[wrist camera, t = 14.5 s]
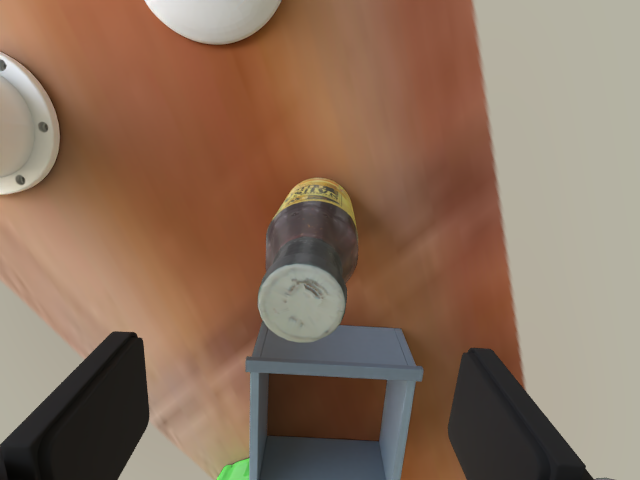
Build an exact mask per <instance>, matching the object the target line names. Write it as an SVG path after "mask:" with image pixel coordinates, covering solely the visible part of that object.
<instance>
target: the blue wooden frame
mask: <svg viewBox="0 0 640 480" xmlns="http://www.w3.org/2000/svg"><path fill="white" fill-rule="evenodd" d="M423 371H424V370H423V367H422V366H416V364H415V362H414V359H413V357H412V354H411V352H410V349H409V347H408V344H407V342H406V339H405V337H404V334H403V332H402V329H399V328H382V327H364V326H347V325H339V326H338V327H337V328H336V330H334V331H333V332H332V333H331V334H330V335H328V336H325V337H323V338H321V339H319V340H317V341H314V342H308V343H299V342H293V341H288V340H286V339H285V338H282V337H280V336H278V335H276V334H275V333H274V332H272V331H271V330H270V329H269V328H268V327H267V326H266V325H265V323H264V321H262V325H261V328H260V331H259V334H258V337H257V341H256V344H255V347H254V350H253V354H252V357H249V356H247V358H246V372H250V456H249V480H400V478H401V472H402V466H403V460H404V453H405V447H406V441H407V434H408V428H409V422H410V415H411V409H412V403H413V396H414V390H415V384H416V381H420V382H421V381H422V377H423ZM269 373H274V374H292V375H311V376H329V377H347V378H366V379H384V380H387V385H386V392H385V400H384V408H383V415H382V423H381V430H380V438H379V441H364V440H345V439H325V438H306V437H287V436H267V422H268V383H269Z"/></svg>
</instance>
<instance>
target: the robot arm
mask: <svg viewBox="0 0 640 480" xmlns="http://www.w3.org/2000/svg"><path fill="white" fill-rule="evenodd" d="M59 143H60V132H59V123H58V119H57V116H56V112H55V109H54V107H53V105H52V102H51V100H50V98H49V96H48V94H47V93H46V91H45V90H44V88H43V87H42V85H41V84H40V82H39V81H38V80H37V79H36V78H35V77H34V76H33V75H32V73H31V72H30V71H29V70H27V69H26V68H25V67H24V66H23V65H21V64H20V63H19V62H18V61H16V60H15V59H13V58H11V57H9V56H8V55H6V54H4V53H2V52H0V195H6V194H12V193H17V192H21V191H24V190H26V189H29V188H31V187H33V186H35V185H36V184H38V183H39V182H41V181H42V180H43V179H44V178H45V177H46V176H47V175H48V174H49V172H50V170H51V169H52V167H53V165H54V164H55V161H56V158H57V155H58V152H59ZM148 421H149V404H148V392H147V381H146V369H145V357H144V345H143V340H142V338H138V337H137V334H136V333H134V332H116V331H115V332H112V333H111V334H110V335H109V336H108V337H107V338H106V339H105V340H104V341H103V342H102V343H101V344H100V345H99V346H98V347H97V348H96V349H95V350H94V351H93V352H92V353H91V354H90V355H89V356H88V357H87V358H86V359H85V360H84V361H83V362H82V363H81V364H80V365H79V366H78V367H77V368H76V369H75V370H74V371H73V372H72V373H71V374H70V375H69V376H68V377H67V378H66V379H65V380H64V381H63V382H62V383H61V384H60V385H59V386H58V387H57V388H56V389H55V390H54V391H53V392H52V393H51V394H50V395H49V396H48V397H47V398H46V399H45V400H44V401H43V402H42V403H41V404H40V405H39V406H38V407H37V408H36V409H35V410H34V411H33V412H32V413H31V414H30V415H29V416H28V417H27V418H26V420H24V421H23V422H22V424H20V425H19V426H18V427H17V428H16V429H15V430H14V431H13V432H12V433H11V434H10V435H9V436H8V437H7V438H6V439H5V440H4V441H3V442H2V443H1V444H0V480H118V478H119V476H120V474H121V472H122V471H123V469H124V467H125V465H126V463H127V461H128V460H129V458H130V456H131V455H132V453H133V451H134V449H135V447H136V446H137V444H138V442H139V440H140V439H141V437H142V435H143V433H144V431H145V430H146V427H147V425H148ZM448 435H449V439H450V442H451V444H452V446H453V449H454V451H455V453H456V456H457V458H458V460H459V463H460V465H461V467H462V469H463V472H464V474H465V476H466V479H467V480H614V479H609V478H596V479H593V478H592V477H591V475H590V474H589V473H588V471H587V470H586V469H585V467H586V466H585V464H584V463H583V462H582V461H581V459H580V458H579V457H578V456H577V454H575V452H574V451H573V450H572V448H571V447H570V446H569V445H568V443H567V442H566V441H565V440H564V438H563V437H562V436H561V435H560V433H559V432H558V431H557V430H556V429H555V427H554V426H553V425H552V423H551V422H550V421H549V420H548V418H547V417H546V416H545V415H544V413H543V412H542V411H541V410H540V409H539V407H538V406H537V405H536V404H535V402H534V401H533V400H532V399H531V397H530V396H529V395H528V394H527V392H526V391H525V390H524V389H523V387H522V386H521V385H520V384H519V382H518V381H517V380H516V379H515V377H514V376H513V375H512V374H511V372H510V371H509V370H508V369H507V368H506V366H505V365H504V364H503V363H502V361H501V360H500V359H499V358H498V356H497V355H496V354H495V353H494V351H493V350H491V349H483V348H470V349H469V350H468V353H463V355H462V358H461V363H460V368H459V373H458V378H457V383H456V389H455V394H454V399H453V404H452V409H451V414H450V419H449V424H448Z"/></svg>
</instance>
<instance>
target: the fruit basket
mask: <svg viewBox="0 0 640 480" xmlns="http://www.w3.org/2000/svg"><path fill="white" fill-rule="evenodd" d="M216 480H249V458H248V459H245V460H242V461H239V462H236V463H235V464H233V465H226V466H225V467H224V468H223V470H222V471H221V473H220V475H219V476H218V478H217V479H216Z"/></svg>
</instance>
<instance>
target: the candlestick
mask: <svg viewBox="0 0 640 480" xmlns="http://www.w3.org/2000/svg"><path fill="white" fill-rule="evenodd" d="M144 1H145V2H146V4H147V5H148V7H149V8H150V9H151V10H152V12H153V13H154V14H155V15H156V16H157V17H158V18H159V19H160V20H161V21H162V22H163V23H164V24H165V25H167V26H168V27H169V28H171V29H172V30H174V31H175V32H177V33H178V34H180V35H182V36H184V37H186V38H188V39H191V40H193V41H196V42H200V43H205V44H214V45H221V44H229V43H233V42H237V41H240V40H242V39H245V38H247V37H249V36H251V35H252V34H254V33H255V32H257V31H258V30H259V29H260V28H262V27H263V26H264V25H265V24H266V23H267V22H268V21H269V20H270V18H271V17H272V16H273V14H274V13H275V11H276V10H277V8H278V7H279V5H280V3H281V1H282V0H144Z"/></svg>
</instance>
